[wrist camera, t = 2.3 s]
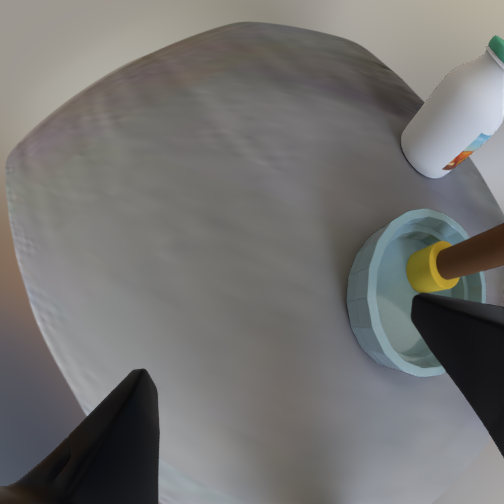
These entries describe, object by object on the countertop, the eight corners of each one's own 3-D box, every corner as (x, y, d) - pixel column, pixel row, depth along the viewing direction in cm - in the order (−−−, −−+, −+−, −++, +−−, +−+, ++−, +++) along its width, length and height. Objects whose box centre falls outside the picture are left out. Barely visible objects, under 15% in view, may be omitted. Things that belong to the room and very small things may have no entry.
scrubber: (440, 287, 23) (536, 263, 11) (411, 298, 23) (513, 277, 10) (431, 247, 24) (521, 205, 12) (401, 254, 24) (496, 208, 11)
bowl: (462, 341, 22) (492, 342, 18) (356, 388, 22) (380, 402, 17) (439, 218, 26) (465, 203, 21) (329, 236, 25) (348, 218, 20)
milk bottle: (412, 180, 27) (523, 71, 7) (390, 127, 28) (466, 10, 9) (452, 180, 27) (552, 97, 8) (431, 132, 29) (507, 39, 9)
